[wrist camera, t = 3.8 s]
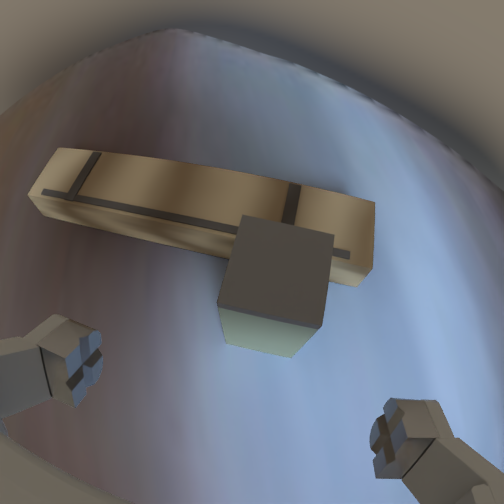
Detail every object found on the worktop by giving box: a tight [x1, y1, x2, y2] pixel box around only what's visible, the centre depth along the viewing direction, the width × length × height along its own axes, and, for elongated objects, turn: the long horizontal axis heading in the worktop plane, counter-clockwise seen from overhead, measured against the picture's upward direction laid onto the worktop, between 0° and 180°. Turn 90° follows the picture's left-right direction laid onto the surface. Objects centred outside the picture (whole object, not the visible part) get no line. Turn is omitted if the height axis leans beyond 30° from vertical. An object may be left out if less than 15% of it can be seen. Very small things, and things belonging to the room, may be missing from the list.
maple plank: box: [28, 148, 375, 287], centre depth 22 cm, size 25×5×3 cm, turn 77°
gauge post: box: [217, 214, 335, 358], centre depth 16 cm, size 4×4×8 cm
